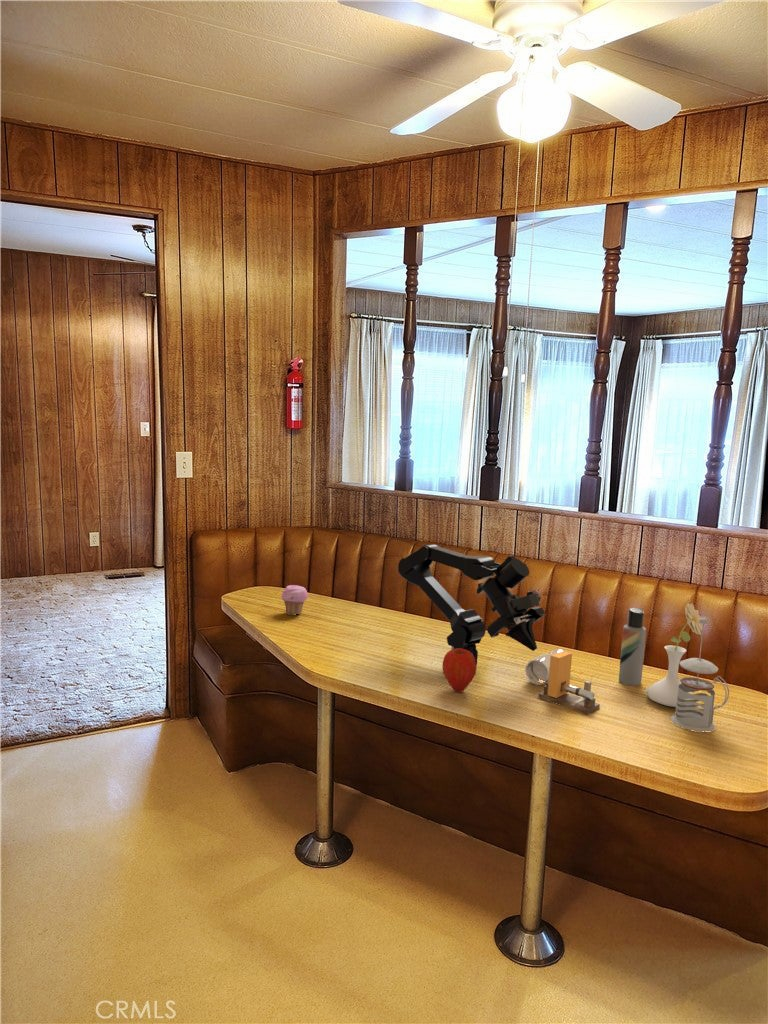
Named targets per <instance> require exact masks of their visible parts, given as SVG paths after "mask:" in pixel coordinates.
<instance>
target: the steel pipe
mask: <svg viewBox="0 0 768 1024" xmlns="http://www.w3.org/2000/svg"><path fill="white" fill-rule="evenodd" d="M548 682H549V678H547V679H546V683H545V686H546V685H548ZM560 690H563V691H566V692H568V694H571V695H574V696H577V697H580V698H583V697H584V698H587V699H589V700H593V699H594V698H595V693H594V692H592V691H591V692H590V691H587V690H584V688H581V687H577V686H573V685H571V684H569V685H568V684H565V683H561V689H560Z"/></svg>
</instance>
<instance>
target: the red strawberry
mask: <svg viewBox="0 0 768 1024" xmlns="http://www.w3.org/2000/svg"><path fill="white" fill-rule="evenodd" d="M441 667H442V673H443V675H444V678H445V680H446V681H447V683H448V684H449V686H450V687H451V689H452V690H453V691H454V692H457V693H462V692H464V691H465V689H467V687H468V686H469V684H471V682H472V681H473V679H474V677H475V675H476V671H477V668H476V667H477V665H476V661H475V658H474V656H473V654H472V653H471V652H470V651H468V650H465V649H462V648H455V649H452V650H451V649H450V650H449V651H447V652H446V653H445V655H444V657H443V660H442V666H441Z"/></svg>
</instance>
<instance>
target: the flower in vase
mask: <svg viewBox="0 0 768 1024" xmlns="http://www.w3.org/2000/svg"><path fill="white" fill-rule="evenodd" d="M684 614H685V618H686V620H687V621H686V623H685V624H684V626H683V627H682V629H681V631H680V633H679V636H678V638H677V637H676V636H672V637H671V639H670V640H669V641H670V642H673V643H676V645H665V646H664V650H665V651H666V653H667V657H668V669H667V674H666V675H665V677H664V678H662V679H660V680H659V681H656V682H655V683H653V684H651V685H649V686H648V687H647V689H646V691H645V694H646V695H647V697H648V698H649V699H650V700H652V701H654V702H656V703H658V704H660V705H663V706H666V707H667V706H668V707H673V708H676V703H677V694H678V686H679V684H682V683H681V681H680V680H681V679H680V678H679V666H680V662H681V658H683V655H684V654H685V653H687V649H686V648H684V647H682V646H679V643H681V642H682V640H683V641H684V642H685V643H689V642H690V640H691V635H690V633H688V632H687V631H685V628H686V627H687V626H689V628H690V630H691V631H692V632H693V633H695V634H696V635H700V636H702V632H701V631H702V628H703V624H702V623H699V620H700V619H701V618H702V617H701V615H699V614H700V612H699V610H698V609H695V606H694V604H693V603H688V602H687V603H686V605H685V608H684ZM704 629H705V628H703V632H704ZM687 693H690V694H693V692H687ZM683 700H694V699H683ZM687 705H691V704H687Z"/></svg>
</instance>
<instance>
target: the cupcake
mask: <svg viewBox="0 0 768 1024" xmlns="http://www.w3.org/2000/svg"><path fill="white" fill-rule="evenodd" d="M308 596H309V595H308V591H307V589H306V587H304V586H300V585H297V584H296V585H295V584H290V585H287V586H286V587H285V589H283V591H282V594H281V599H282V601H283V603H284V606H285V614H286V615H287V614H288V615H287V616H295V615H294V614H299V615H300V614H302V612H303V607H304V603H305V601H307V599H308Z"/></svg>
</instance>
